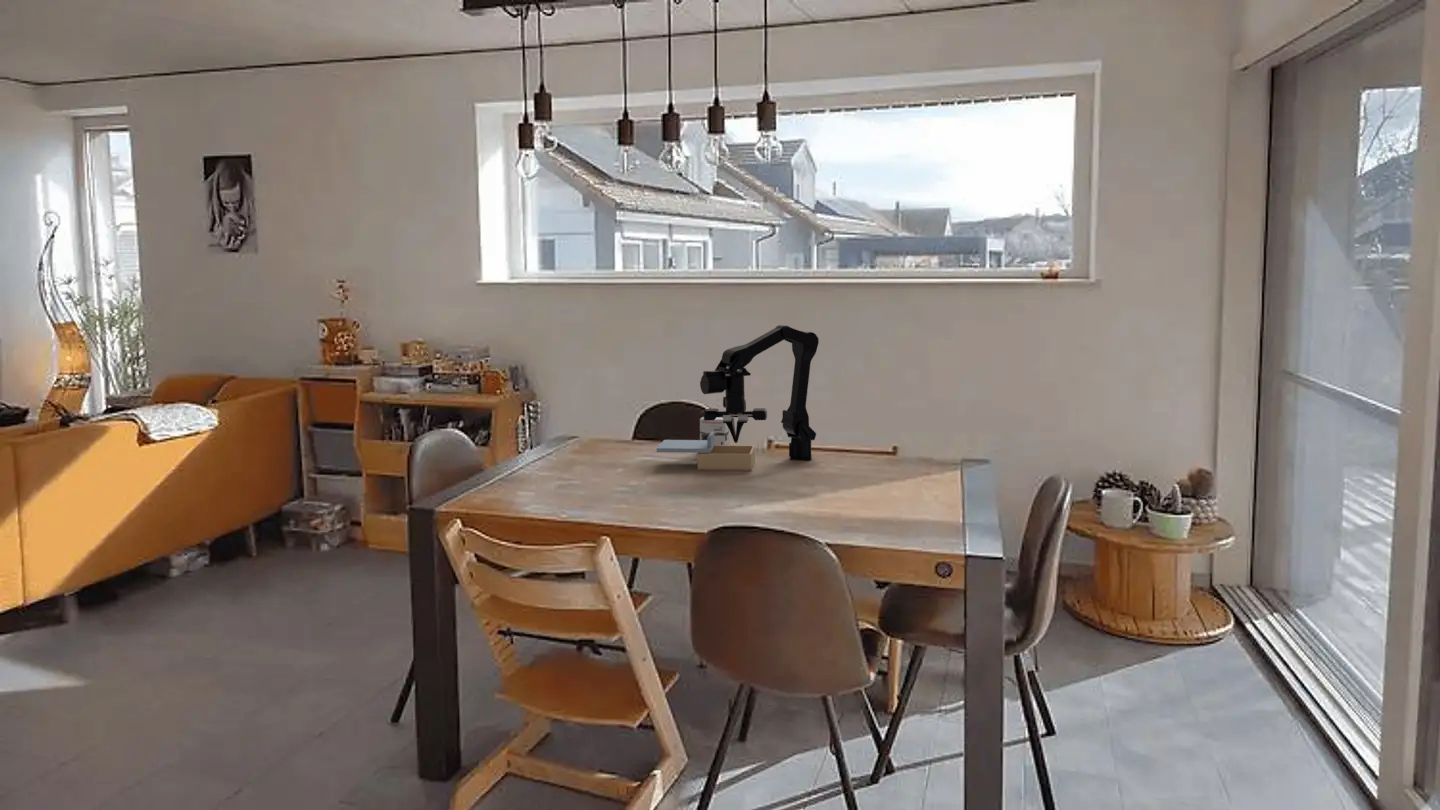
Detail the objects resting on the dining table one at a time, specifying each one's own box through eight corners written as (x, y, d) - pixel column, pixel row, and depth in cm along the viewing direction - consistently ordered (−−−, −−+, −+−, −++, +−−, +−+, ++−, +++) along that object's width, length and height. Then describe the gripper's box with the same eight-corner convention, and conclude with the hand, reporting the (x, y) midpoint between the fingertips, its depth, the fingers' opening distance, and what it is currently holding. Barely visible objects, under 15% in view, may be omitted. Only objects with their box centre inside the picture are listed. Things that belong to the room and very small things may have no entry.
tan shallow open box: (755, 461, 322) (754, 445, 322) (751, 470, 309) (751, 454, 308) (703, 460, 324) (703, 444, 323) (697, 470, 310) (697, 453, 310)
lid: (715, 444, 323) (715, 430, 322) (709, 452, 309) (709, 438, 309) (664, 443, 325) (663, 430, 324) (656, 452, 311) (656, 438, 310)
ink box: (699, 454, 335) (698, 418, 333) (704, 451, 339) (703, 415, 338) (724, 455, 332) (724, 419, 330) (729, 452, 337) (729, 416, 335)
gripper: (768, 387, 320) (768, 437, 322) (707, 387, 322) (708, 437, 324) (765, 392, 309) (766, 444, 311) (702, 393, 311) (704, 444, 313)
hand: (736, 442), depth 315 cm, fingers closed
